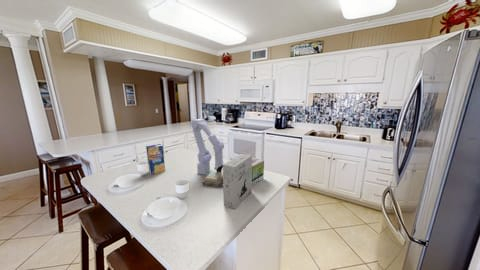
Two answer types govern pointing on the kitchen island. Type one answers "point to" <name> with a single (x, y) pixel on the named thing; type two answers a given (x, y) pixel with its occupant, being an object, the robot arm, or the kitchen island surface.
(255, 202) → the kitchen island surface
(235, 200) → the cereal box
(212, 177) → the kraft carton
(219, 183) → the shallow grey tray
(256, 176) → the tea box
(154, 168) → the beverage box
